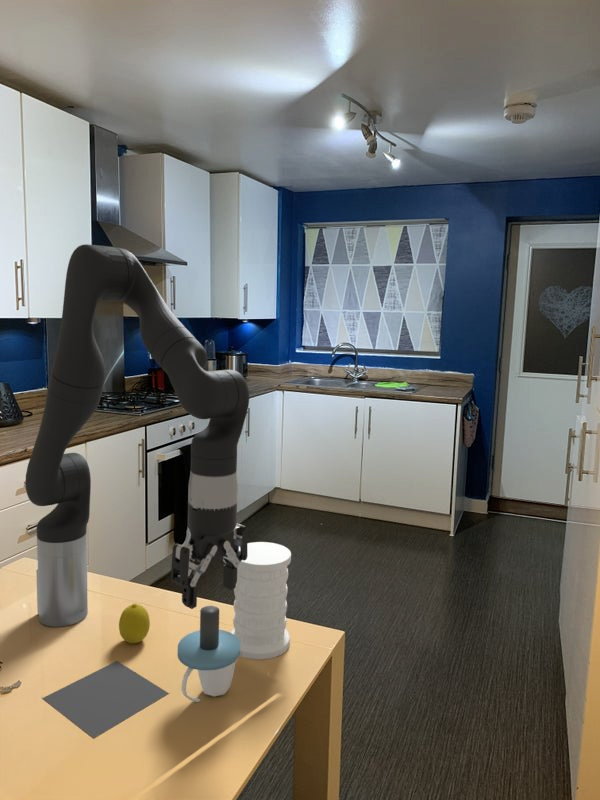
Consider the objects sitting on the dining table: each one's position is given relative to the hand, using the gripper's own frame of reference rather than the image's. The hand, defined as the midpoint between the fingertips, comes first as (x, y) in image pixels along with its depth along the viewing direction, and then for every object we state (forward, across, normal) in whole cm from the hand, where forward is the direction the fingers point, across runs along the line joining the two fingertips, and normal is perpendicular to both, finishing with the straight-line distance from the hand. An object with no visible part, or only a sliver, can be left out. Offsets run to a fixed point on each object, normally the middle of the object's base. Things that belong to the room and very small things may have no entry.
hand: (210, 597), depth 98 cm
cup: (+18, 0, 0) cm, 18 cm away
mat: (+18, +11, -12) cm, 24 cm away
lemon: (+18, -2, -22) cm, 28 cm away
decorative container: (+18, -18, -5) cm, 26 cm away
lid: (+10, 0, 0) cm, 10 cm away
